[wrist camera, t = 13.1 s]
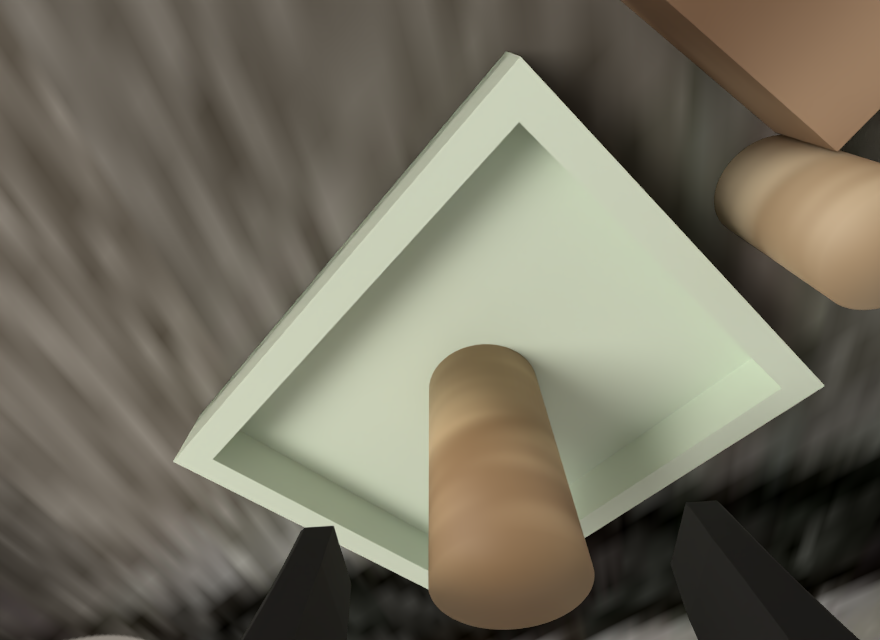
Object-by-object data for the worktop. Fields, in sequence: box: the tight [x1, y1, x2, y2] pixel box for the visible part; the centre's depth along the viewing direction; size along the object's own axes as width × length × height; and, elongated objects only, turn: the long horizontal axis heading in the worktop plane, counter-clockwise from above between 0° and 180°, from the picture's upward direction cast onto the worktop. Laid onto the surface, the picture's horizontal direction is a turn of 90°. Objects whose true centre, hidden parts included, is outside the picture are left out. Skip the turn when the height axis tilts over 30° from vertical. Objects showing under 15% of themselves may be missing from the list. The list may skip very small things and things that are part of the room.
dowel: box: [428, 344, 594, 629], centre depth 12 cm, size 3×3×6 cm
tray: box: [173, 51, 824, 589], centre depth 15 cm, size 12×14×2 cm
